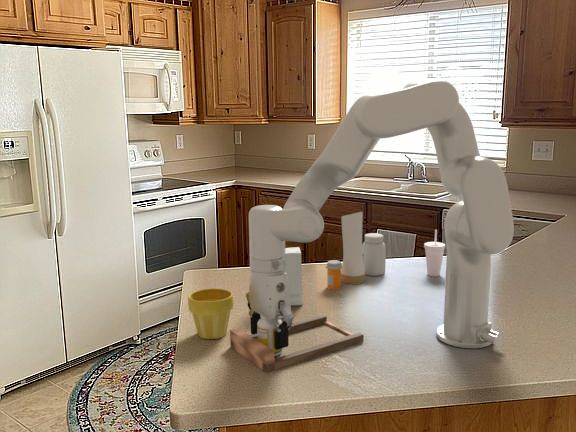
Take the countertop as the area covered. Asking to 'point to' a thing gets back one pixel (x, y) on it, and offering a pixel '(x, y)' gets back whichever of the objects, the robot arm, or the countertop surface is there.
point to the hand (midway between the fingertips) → (269, 340)
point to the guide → (265, 355)
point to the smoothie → (434, 256)
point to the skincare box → (294, 274)
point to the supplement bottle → (267, 333)
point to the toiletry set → (357, 254)
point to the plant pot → (211, 311)
